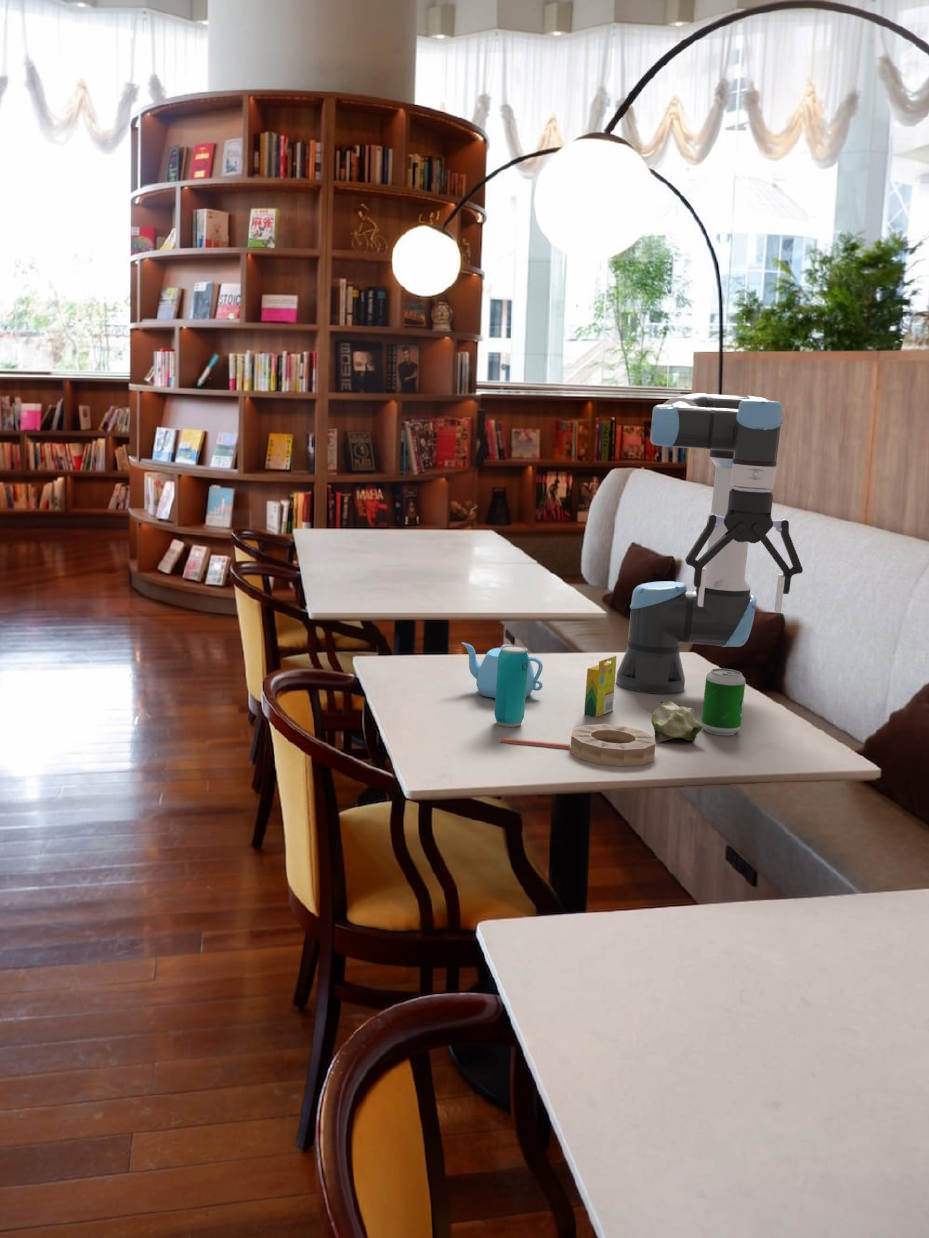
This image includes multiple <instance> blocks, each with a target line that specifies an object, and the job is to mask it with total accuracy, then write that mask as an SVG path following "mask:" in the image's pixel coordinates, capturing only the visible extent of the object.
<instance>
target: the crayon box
mask: <svg viewBox="0 0 929 1238" xmlns="http://www.w3.org/2000/svg"><path fill="white" fill-rule="evenodd" d="M608 662H609V663H608ZM610 662H611V663H610ZM616 670H617V655H615V656H611V657H608V658H606V659H605V658H604V659H602V660H599V661H598V664H597V665H593V666H591V667H588V668H587V670H586V671H587V672H586V683H585V684H586V686H585V697H584V710H583V711H584V713H583V714H584V716H587V717H593V718H595V719H596V718H598V717H600V716H603V715H605V714H607V713H610V712H613V711H614V699H615V687H616V674H617V671H616Z"/></svg>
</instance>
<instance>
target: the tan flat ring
mask: <svg viewBox="0 0 929 1238" xmlns="http://www.w3.org/2000/svg"><path fill="white" fill-rule="evenodd" d="M655 750H656V742H655V736H654V735H651V734H649V733H648V732H647V731H644V730H642V729H637V728H634V727H629V726H625V725H617V724H616V725H615V724H614V725H613V724H605V723H601V724H586V725H581V726H579V727H576V728H572V731H571V737H570V749H569V751H570V753H571V754H573V755H575V756H576V757H578V758H579V759H581V760H584V761H589V762H591V763H594V764H599V765H604V766H605V765H606V766H617V767H630V766H631V767H632V766H643V765H646V764H648V763H651V762H652V761H655V754H656V753H655V752H656V751H655Z"/></svg>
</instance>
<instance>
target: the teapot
mask: <svg viewBox="0 0 929 1238" xmlns="http://www.w3.org/2000/svg"><path fill="white" fill-rule="evenodd" d="M461 644H462V645H463V646H464V647H465V648H466V650H467V653H468V665H469V666H468V667H469V672H470V674H471V675H472V676H473V677H474V679H476V688H477V690H478V692H479V694H480V695H481V696H484V697H487V698H494V699H496V684H497V669H498V655H499V653H500V651H501V649H500V648H501V647H502V646H508V645H509V644H502V645H501V647H496V648H495V647H494V648H491V649H490V650H488V651H487V652H486V654H485V656H484V658H483V659H482V662H481V664H480V663H479V662H478V660H477V655H476V649H475V648H474V647H473V645H471V644H469V643H467V642H464V641H463V642H461ZM527 654H528V670H527V684H526V698H527V697H528V696H530V694H531V693H532V692H533V691H536V692H538V691H541V690H542V689H543V683H542V681H540V680H539V678H540V676H541V674H542V671H543V663H542V661H541V660H540V659H539V658H537V657H536V656H530V655H529V653H528V652H527ZM532 662H535V663H536V664H537V665H538V668H537V672H536V674H535V672H534V668H533V664H532ZM537 684H538V685H539V686H536V685H537Z"/></svg>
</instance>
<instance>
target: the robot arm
mask: <svg viewBox="0 0 929 1238" xmlns="http://www.w3.org/2000/svg"><path fill="white" fill-rule="evenodd" d="M783 421H784V419H783V404H782V403H781V402H779V401H777V400H769V399H767V398H765V397H758V396H752V395H733V394H732V395H731V394H710V393H702V392H701V393H700V392H698V393H689V394H684V395H678V396H676V397H672V398H669V399H668V400H666V401H665V402H664V403H662V404H657V405H655V406H654V407H653V408H652V417H651V426H650V427H651V428H650V437H649V441H650V443H651V444H652V445H653V446H659V447H665V448H684V449H699V450H700V449H703V450H709V459H710V461H711V462H712V463H713V464H714V468H715V470H714V479H713V480H714V481H713V488H712V489H713V490H712V499H711V510H710V513H709V514H708V517H707V521H706V525H705V527H704V529H703V530H702V532H701V534H700V535H699V537H698V538H697V539H696V541H695V543H694V545H693V546H692V548H691V549H690V551H689V552H688V554H687V556H685V557H686V558H685V559H684V560H685V561H684V562H686V565H687V566H691V567H692V568H694V571H693V573H694V574H693V586H694V588H695V590H690V589H689V590H688V587H687V585H686V583H684V582H681V581H674V580H673V581H672V580H671V581H670V580H668V581H652V582H651V581H650V582H646V583H640V584H639V585H637V586H636V587H635V588H634V589H633V591H632V594H631V595H632V596H631V602H630V603H631V604H630V605H629V608H630V617H629V626H628V634H627V635H628V636H627V645H626V647H627V648H626V650H625V653H624V655H623V658H622V661H621V663H620V664H619V667H618V670H617V671H616V678H615V684H617V685H618V686H620V687H622V688H625V689H627V690H629V691H630V690H631V691H635V692H641V693H646V694H647V693H648V694H662V695H663V694H665V695H666V694H675V693H676V694H677V693H680V692H682V691H684V689H685V683H686V677H685V674H684V673H685V672H684V669H683V664H682V659H681V655H680V652H681V643H687V644H695V645H696V644H697V645H709V646H717V647H718V646H719V647H721V648H726V647H732V648H733V647H735V648H737V647H738V648H740V647H742V646H744V645H746V643H747V641H748V639H749V637H750V634H751V630H752V627H753V624H754V617H755V615H756V614H755V613H756V607H757V597H756V596H755V595H753V594H751V588H752V587H751V586H750V585H749V583H748V582H747V581H746V579H745V578H746V577H745V576H746V570H747V569H746V568H747V557H748V549H749V544H756V543H759V542H761V544H763V546H764V548H765V549H766V550H767V552H768V553H769V554H770V556H771V557H772V559H773V560H774V562H775V563H776V564H777V566H778V567H779V569H780V570H781V571H782V572H783V573H778V576H777V584H776V593H775V604H774V609H773V610H774V611H775V613H776V614H777V613H778V614H781V613H782V607H783V606H782V605H783V597H784V595H789V593H790V590H791V581H792V577H793V576H794V575H799V574H802V573H803V571H804V569H803V565H802V563H801V561H800V559H799V556H798V554H797V550H796V547H795V545H794V543H793V540H792V537H791V535H790V523H789V521H788V520H787V519H786V518H781V519H775V520H774V519H772V509H773V502H774V501H773V500H774V494H773V492H772V491H771V490H772V489H774V488H775V481H776V473H777V472H776V471H777V464H778V463H777V460H778V451H779V444H780V437H781V428H782V424H783ZM773 527H774V528H775V530H776V531H777V532H778V533H780V536H781V539H782V542H783V544H784V547H785V550H786V552H787V555H788V557H789V560H790V562H791V565H792V566H790V567H789V566H788V564H787V563H786V561H785V560H784V559H783V557H782V555H780V553H779V552H778V550H777V549H776V547H775V546H774V544H773V543H772V541H771V540H770V539H769V538H768V536H767V534H768V533H769V532H770V531H771V529H772V528H773ZM706 543H707V548H706V549H707V550H706V552H705V553H704V554H703V555H702V556H701V557H699V558H698V559H697V557H698V555H699V554H700V553H701V551H702V549H703V548H704V546H705V545H706ZM696 559H697V560H696Z"/></svg>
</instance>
